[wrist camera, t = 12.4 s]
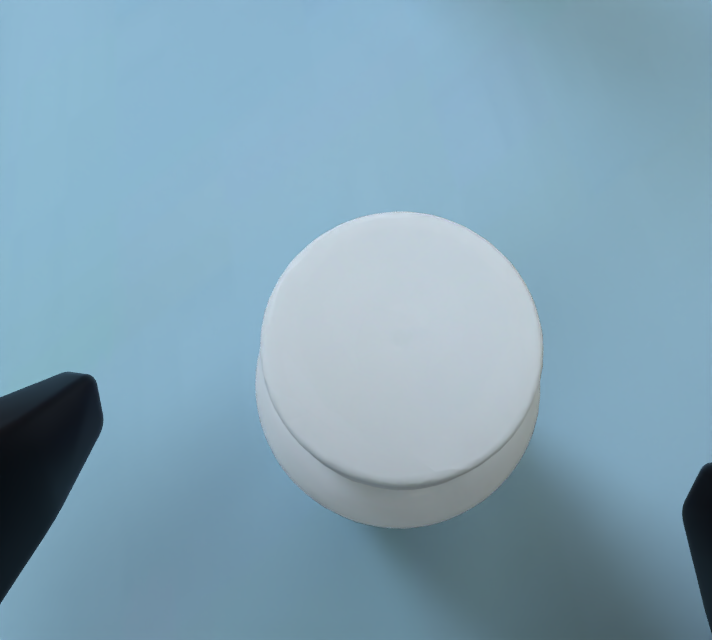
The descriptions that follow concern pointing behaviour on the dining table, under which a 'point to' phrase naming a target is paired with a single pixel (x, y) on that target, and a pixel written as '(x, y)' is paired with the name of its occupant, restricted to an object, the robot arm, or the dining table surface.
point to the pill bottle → (399, 369)
